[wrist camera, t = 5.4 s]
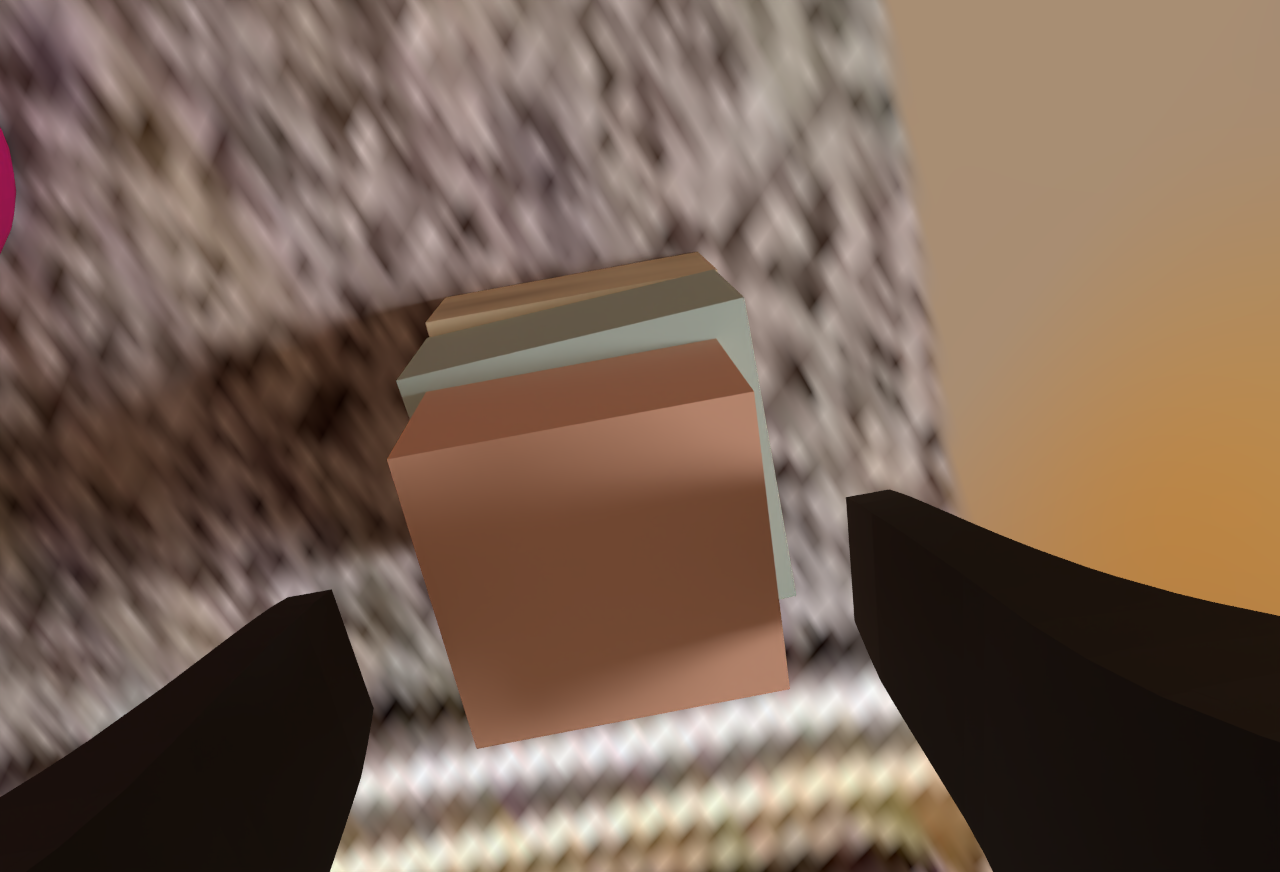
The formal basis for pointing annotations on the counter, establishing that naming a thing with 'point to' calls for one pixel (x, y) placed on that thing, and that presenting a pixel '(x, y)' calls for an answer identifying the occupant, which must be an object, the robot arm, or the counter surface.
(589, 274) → the base block
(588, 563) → the terracotta block
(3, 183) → the pepper mill
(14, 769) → the counter surface
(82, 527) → the counter surface
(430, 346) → the middle block
